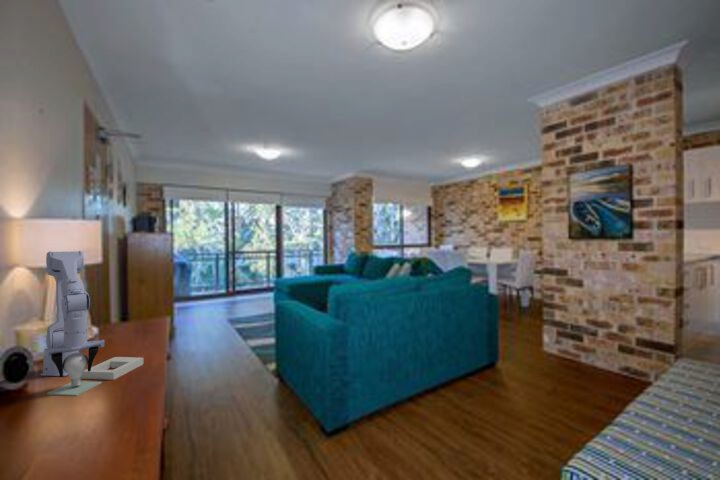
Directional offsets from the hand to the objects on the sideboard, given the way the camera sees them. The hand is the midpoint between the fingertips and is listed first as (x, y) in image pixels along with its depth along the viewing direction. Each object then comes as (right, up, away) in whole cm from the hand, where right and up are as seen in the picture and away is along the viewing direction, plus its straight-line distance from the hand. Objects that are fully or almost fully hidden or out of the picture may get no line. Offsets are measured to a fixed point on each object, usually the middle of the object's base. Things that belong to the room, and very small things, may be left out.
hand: (75, 373), depth 105 cm
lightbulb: (0, -5, +1) cm, 5 cm away
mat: (0, -5, 0) cm, 5 cm away
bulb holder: (+2, -5, +14) cm, 15 cm away
